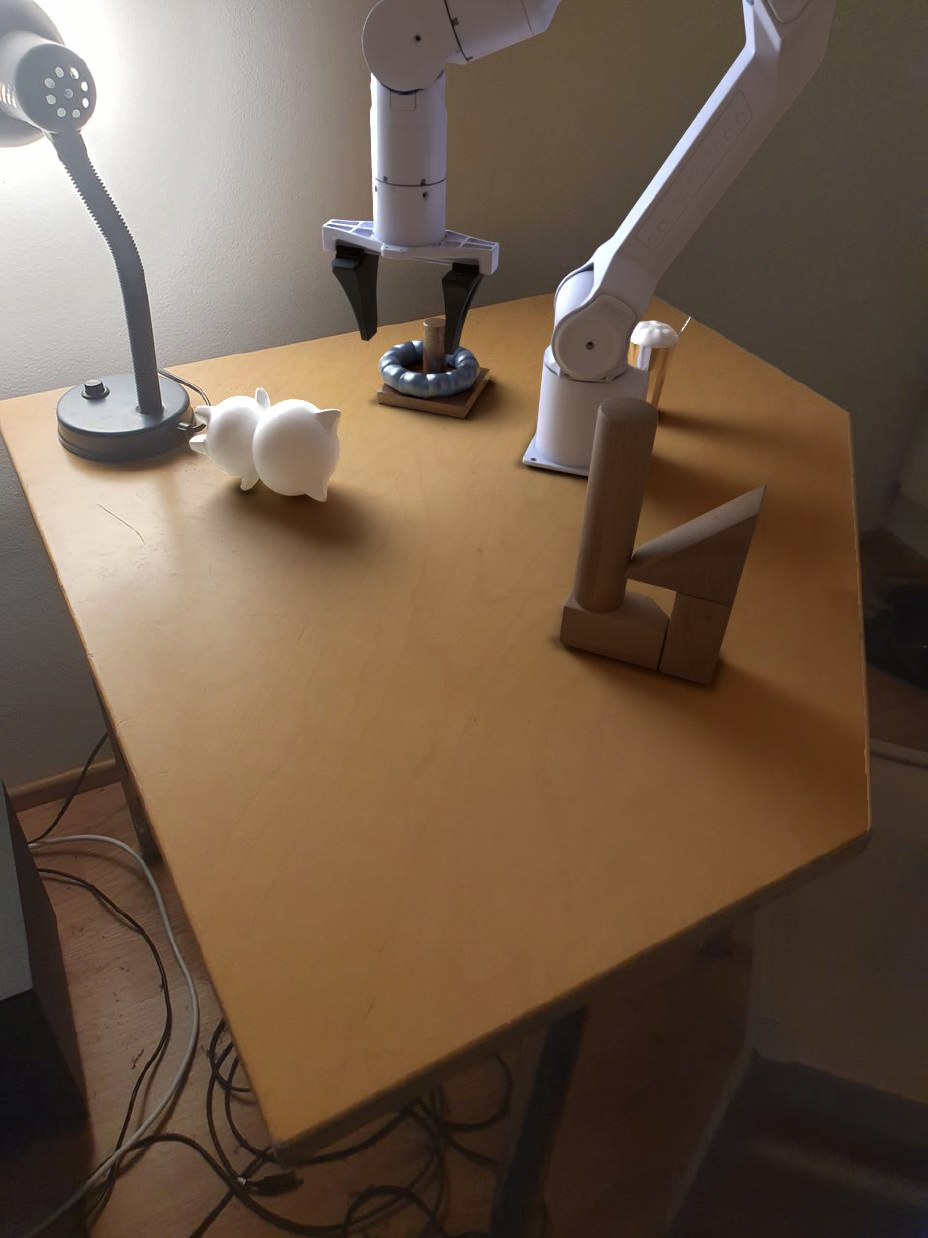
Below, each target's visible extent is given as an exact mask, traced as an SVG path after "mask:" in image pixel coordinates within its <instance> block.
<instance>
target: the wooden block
mask: <svg viewBox="0 0 928 1238" xmlns="http://www.w3.org/2000/svg"><path fill="white" fill-rule="evenodd" d="M659 417H660V415H659V411H658V409H656V407H654V406H653V405H652V404H651V403H649V402H647V401H645V400H641V399H638V398H633V397H615V398H610V399H608V400H605V401H604V402H603V403H602V404H601V405H600V407H599V410H598V416H597V422H596V429H595V436H594V443H593V450H592V457H591V464H590V471H589V477H587V478H588V479H587V486H586V492H585V499H584V506H583V514H582V520H581V527H580V534H579V542H578V548H577V555H576V562H575V570H574V576H573V582H572V587H571V589H570V592H569V593H568V596H567V597H566V599H565V601H564V604H563V605H562V612H561V618H560V619H561V620H560V627H559V635H558V641H559V643H560V644H562V645H566V646H568V647H573V648H577V649H580V650H582V651H587V652H590V653H592V654H593V653H594V654H597V655H600V656H604V657H607V658H610V659H611V658H612V659H614V660H619V661H621V662H625V663H629V664H632V665H635V666H640V667H642V668H646V669H650V670H657V669H659V672H661V673H662V674H666V675H669V676H672V677H677V678H680V679H684V680H686V681H690V682H694V683H698V684H701V685H709V683H710V682H711V681H712V678H713V676H714V675H713V674H714V672H715V669H716V665H717V661H718V658H719V655H720V652H721V647H722V645H723V641H724V637H725V634H726V631H727V627H728V625H729V621H730V618H731V614H732V611H733V607H734V604H735V600H736V596H737V593H738V588H739V585H740V582H741V578H742V574H743V571H744V568H745V565H746V561H747V558H748V554H749V552H750V549H751V545H752V541H753V538H754V534H755V531H756V528H757V525H758V522H759V518H760V514H761V510H762V506H763V503H764V500H765V495H766V491H767V487H768V486H767V484H762V485H760V486H758V487H755V488H754V489H752V490H750V491H748V492H745V493H744V494H742V495H739V496H738V497H736V498H733V499H731V500H730V501H727V502H725V503H723V504H722V505H720V506H718V507H716V508H713V509H712V510H709V511H708V512H707V511H706V513H703V514H702V515H699V516H697V517H696V518H693V519H691V520H689V521H686V522H685V523H683V524H681V525H679V526H677V527H675V528H673V529H671V530H668V531H667V532H665V533H663V534H661V535H658V536H657V537H655V538H653V539H651V540H649V541H646V542H645V543H643V544H641V545H638V546H637V547H636V548H635V547H634V546H635V543H636V538H637V532H638V527H639V522H640V516H641V511H642V507H643V502H644V496H645V491H646V486H647V482H648V476H649V470H650V465H651V460H652V455H653V449H654V445H655V439H656V436H657V435H656V434H657V428H658V423H659ZM634 548H635V550H634ZM628 580H631V581H635V582H639V583H643V584H645V585H651V586H654V587H658V588H662V589H665V590H669V591H674V592H675V597H674V601H673V605H672V610H671V614H670V617H669V615H668V614H667V613H666V612H665V611H664V610H663V609H662V608H661V606H659V604H657V602H656V601H655V600H654V599H653V598H652V597H651V596H649V595H645V594H641V593H638V592H635V591H630V590H626V589H627V584H628Z"/></svg>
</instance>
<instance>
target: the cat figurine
mask: <svg viewBox="0 0 928 1238" xmlns="http://www.w3.org/2000/svg"><path fill="white" fill-rule="evenodd" d="M193 415H194V417H195V419H196V420H197V421H198V422H199V423H202V424H203V425H205V426H206V430H205V434H199V435H195V436H193V437H191V439H190V440H189V443H188V444H189V447H190V449H191V450H192V451H194V452H196V453H199V454H203V455H205V456H207V457H208V458H209V459H210V460H211V461H212V463H213V464H214V465H215V467H216V468H217V469H218V470H219V471H221V472H222V473H224V474H225V475H228V476H230V477H236V478H237V477H239V478H242V479H241V482H240V489H242V490H243V491H248V490H250V489H252V488H253V487H254V486H255V484H256V483H258V480H261V481H262V483H263V484H264V485H265V486H266V487H267V488H269V489H270V490H271V491H273V492H275V493H277V494H280V495H283V496H288V497H289V496H292V497H294V496H301V495H307V496H308V497H310V498H311V499H313V500H315V501H318V502H322V503H323V502H326V501H327V496H328V495H327V494H328V485H329V481H330V479H331V478H332V476H333V474H334V473H335V472H336V469H337V467H338V465H339V462H340V458H341V442H340V439H339V435H338V428H339V423H340V420H341V417H342V410H340V409H337V408H327V409H319V407H317V406H315V405H314V404H312V403H310V402H308V401H305V400H301V399H287V400H283V401H280V402H278V403H276V404H275V405H273V406H272V404H271V401H270V397H269V394H268V392H267V391H266V390H265V389H264V388H263V387H258V388H256V390H255V399H254V398H253V397H252V398H251V397H248V396H244V395H236V396H232V397H229V398H227V399H225V400H223V401H222V402H221V403H219V404H216V405H215V406H214V405H213V406H209V405H198V406H197V407H196V408H195V409H194V411H193Z"/></svg>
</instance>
